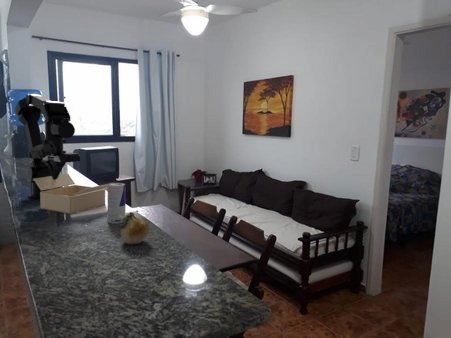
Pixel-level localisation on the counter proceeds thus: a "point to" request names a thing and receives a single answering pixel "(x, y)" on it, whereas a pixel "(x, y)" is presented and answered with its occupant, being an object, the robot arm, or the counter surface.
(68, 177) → the flap
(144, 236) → the onion
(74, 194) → the flap
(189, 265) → the counter surface
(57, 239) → the counter surface
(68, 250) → the counter surface
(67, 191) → the carton
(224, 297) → the counter surface
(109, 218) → the energy drink
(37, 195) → the robot arm
